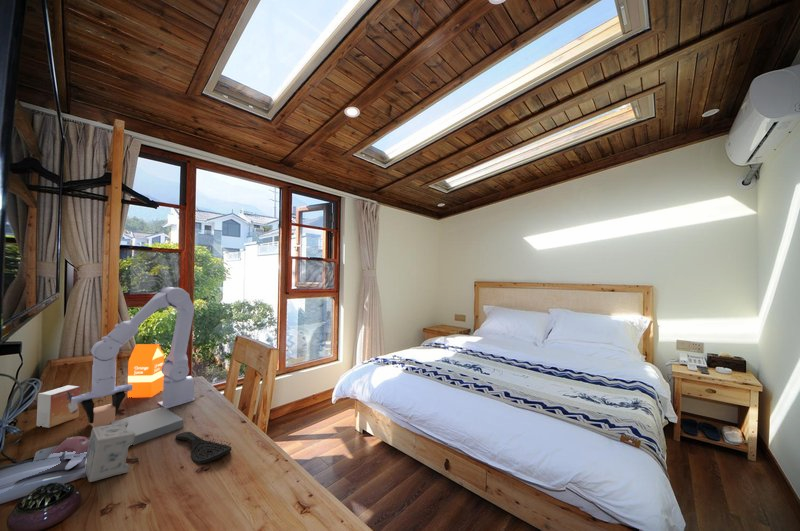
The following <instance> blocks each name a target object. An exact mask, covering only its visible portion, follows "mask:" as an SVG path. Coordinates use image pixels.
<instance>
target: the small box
mask: <svg viewBox="0 0 800 531" xmlns="http://www.w3.org/2000/svg"><path fill="white" fill-rule="evenodd" d="M80 392H81V387H80V386H77V385H68V384H67V385H64V386H62V387H58V388H55V389H51V390H47V391H44V392H39V393H38V394H37V402H36V403H37V406H36V408H37V410H36V426H37V427H40V426H42V427H41V428H49V429H50V428H53V427H55V426H57V425H60V424H63V423H65V422H69V421H71V420H74V419H77V418H79V416H80V403H78V404H75V405H72V404H71V398H72V397H75V396H79V395H81V394H80Z"/></svg>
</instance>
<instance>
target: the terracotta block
mask: <svg viewBox="0 0 800 531" xmlns="http://www.w3.org/2000/svg"><path fill="white" fill-rule="evenodd" d="M115 410H116V407H114V406H113V405H112V403H109V404H105V405H100V406H96V407H94V410H93V418H94V420H93V423H89V424H90V426H91V427H92V428H93V427H99V426H105V425H110V422H114V421H116V416H115Z"/></svg>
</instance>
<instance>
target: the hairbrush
mask: <svg viewBox="0 0 800 531" xmlns="http://www.w3.org/2000/svg"><path fill="white" fill-rule="evenodd" d="M206 438H207V437H205V440H204V437H202V438H201V437H199V436H197V435H196V434H195V433H193V431H185V432H184V431H183V432H180V433H177V434H176V435H175V440H181V441H183V440H185V441H188V442H190V443H191V451H190V458H191V460H192V462H194V463H196V464H198V465H202V464H205V463H209V462H211V461H213V460H216V459H218V458H220V457H223V456H225V455H226V454H229V453H230V452H231V451H232V447H231V442H229V443H228V441H225V440H223V441H220V442H219V441H217V439H215V440H214V438H212V440H211V439H210V440H206ZM222 442H225V443H226V444H225V443H222Z"/></svg>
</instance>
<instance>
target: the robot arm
mask: <svg viewBox="0 0 800 531" xmlns="http://www.w3.org/2000/svg"><path fill="white" fill-rule="evenodd" d="M170 306H171V307H172V309H174V310H175V311H176V312H177V313H176V314H177V315H176V318H175V325H174V330H173V334H172V335H173V336H172V339H171V345H170V351H169V354H168V355H167V356H166V359H165V361H164V364H163V366H162V373H163V374H164V379H163V390H162V400H161V401H157V404H158V405H160V406H161V407H165V408H166V409H170V408H174V407H177V406H181V405H183V404H187V403H191V402H193V401H195V400H196V399H195V380H194V378H193V376H192V375H189V373H190V368H189V365H188V364H189V359H188V355H187V353H188V352H187V350H188V346H189V341H190V335H191V330H192V324H193V320H194V319H193V318H194V313H195V305H194V303H193V302H192V299H191V296H190V293H189V292H187V291H186V290H185V289H183V288H181V287H174V286H166V287H164V288H162V289H161V290H160V292H157V293H156V294H155V295H153V297H152V298H151V299H150V300H149V301H147V302H146V304H144V306H142V308H140V309H139V310H138V311H137V312H136V313H135V314H134V315H133V316H132V317H131V318H130V319H129V320H125V321H124V320H123V321H121V322H120V323H116V324H115V325H114V328H113V329H112V330H111V331H110V332H109V333H108V334H107V335H105V336H102V337H101V340H99V341H97V342H95V343H94V344H93V346H92V347H91V349H90V354H91V355H92V356H93V359H92V366H91V367H92V368H91V391H89V392H85V393H82V394H80V395H79V396H75V397H72V398H71V404H72V405H75V404H78V403H79V404H81V406H82V407H83V409H84V411H85V413H86V416H87V421H88V423H89V424H90V423H93V420H94V418H93V410H94V408H95V402H94V400H96V399H99V398H105V397H108V396H111V402H112V403H111V404H112V405H113V406H114V407H116V410H115V417H116V416H117V414H118V411H119V409H120V407H121V404H122V402H123V401H124V399H125V398H126V395H127V394H126V392H128V391H132V388H133V385H132V384H128V383H126V384H123V385H116V384H117V383H116V381H117V380H116V377H117V376H116V374H117V361H116V360H117V359H116V357H117V355H119V352H120V349H121V348H122V347H124V345H125V344H126V343H127V342H128V341H129V340H131V339H132V338H133V337H134V336H135V335H136V334H137V333H138V332H139V326H140V325H141V324H143V323H144V322H145V321H147V319H148V318H149V317H151V316H152V315H153V314H154V313H155V312H156V311H157V310H160V309H163V308H168V307H170Z"/></svg>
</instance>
